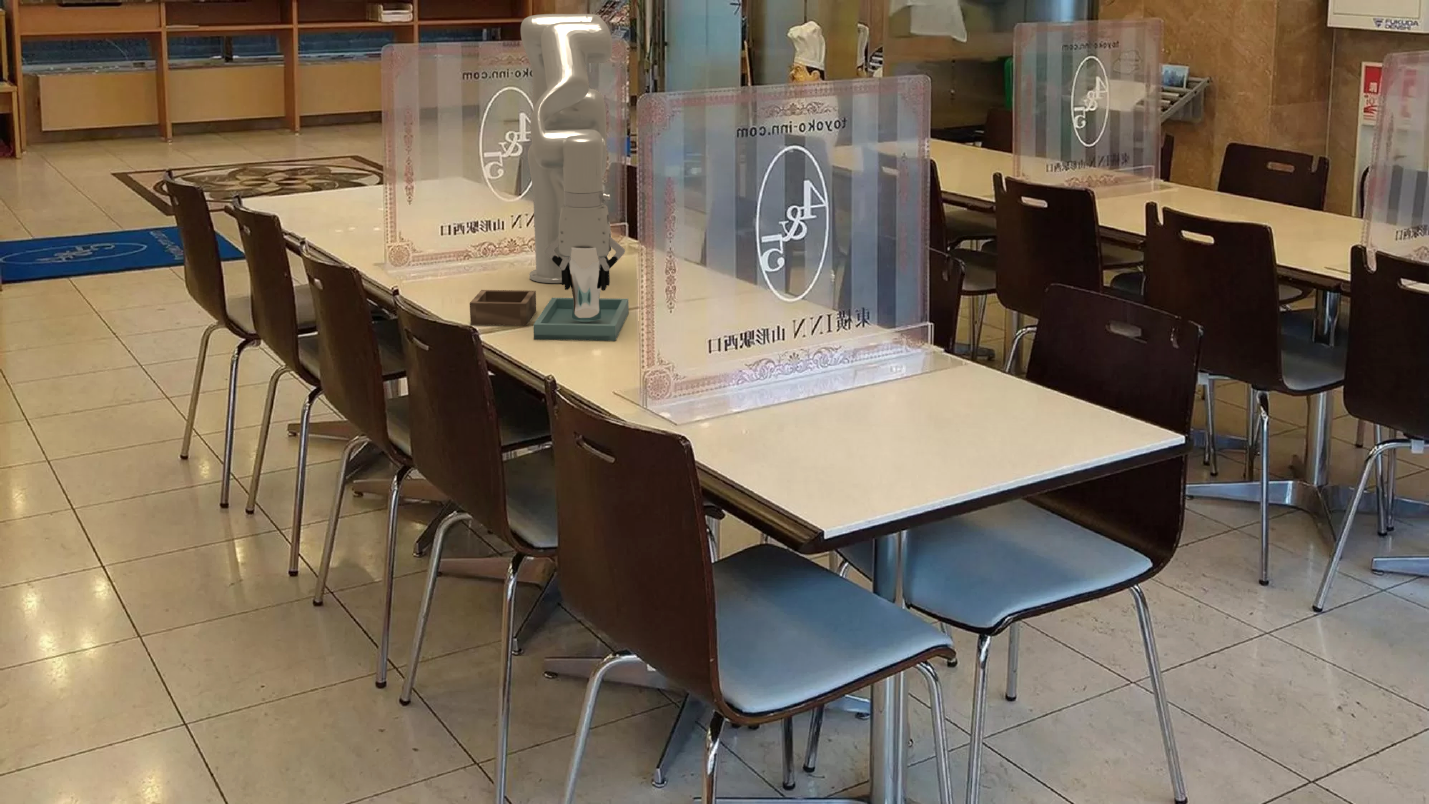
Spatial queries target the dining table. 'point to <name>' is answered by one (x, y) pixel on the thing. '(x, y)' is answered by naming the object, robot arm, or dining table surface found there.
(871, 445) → the dining table surface
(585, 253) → the beer glass
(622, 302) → the tray
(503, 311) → the box
